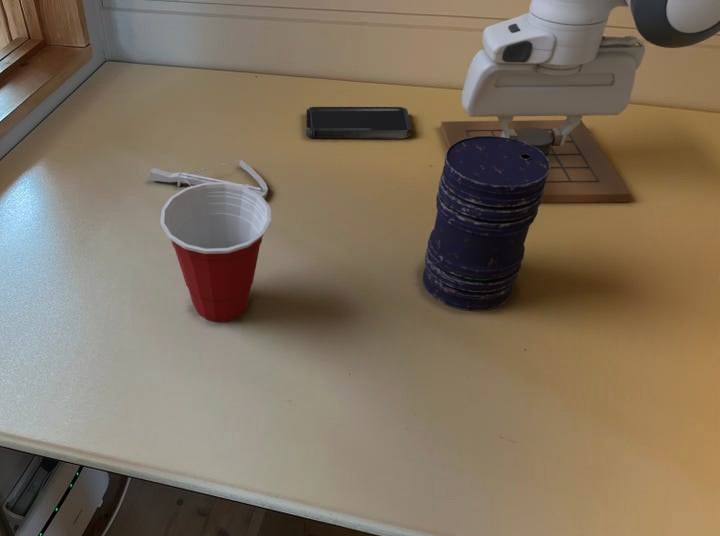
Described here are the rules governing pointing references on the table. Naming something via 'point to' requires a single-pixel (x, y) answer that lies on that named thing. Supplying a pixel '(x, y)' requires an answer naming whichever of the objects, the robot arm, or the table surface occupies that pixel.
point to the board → (558, 161)
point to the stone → (536, 138)
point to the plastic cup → (217, 244)
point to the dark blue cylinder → (483, 220)
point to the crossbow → (196, 179)
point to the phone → (357, 122)
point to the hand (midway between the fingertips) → (531, 144)
